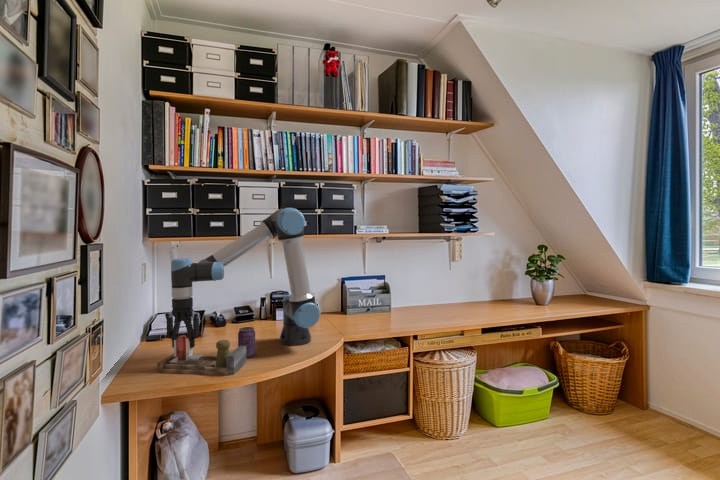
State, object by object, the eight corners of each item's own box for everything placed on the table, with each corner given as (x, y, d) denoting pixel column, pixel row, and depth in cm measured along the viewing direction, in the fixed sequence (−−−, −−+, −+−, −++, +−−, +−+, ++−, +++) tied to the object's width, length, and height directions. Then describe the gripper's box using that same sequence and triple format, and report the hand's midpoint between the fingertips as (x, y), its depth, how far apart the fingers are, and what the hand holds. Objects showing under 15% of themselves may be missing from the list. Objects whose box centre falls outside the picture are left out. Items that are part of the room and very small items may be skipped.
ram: (206, 360, 155) (205, 334, 155) (195, 367, 148) (195, 339, 147) (180, 359, 156) (180, 333, 156) (168, 366, 149) (168, 339, 148)
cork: (212, 370, 148) (211, 342, 148) (220, 364, 154) (219, 337, 154) (226, 371, 147) (226, 343, 147) (234, 365, 153) (233, 338, 153)
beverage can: (245, 352, 169) (245, 326, 168) (258, 354, 166) (258, 327, 166) (234, 357, 162) (234, 330, 162) (248, 360, 160) (248, 331, 159)
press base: (247, 362, 157) (247, 345, 157) (232, 375, 143) (232, 357, 143) (178, 359, 160) (177, 343, 160) (157, 372, 146) (156, 354, 146)
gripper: (208, 295, 154) (209, 352, 155) (166, 295, 156) (167, 351, 157) (199, 299, 147) (200, 359, 148) (155, 299, 148) (156, 358, 149)
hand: (183, 355), depth 152 cm, fingers open, 5 cm apart
